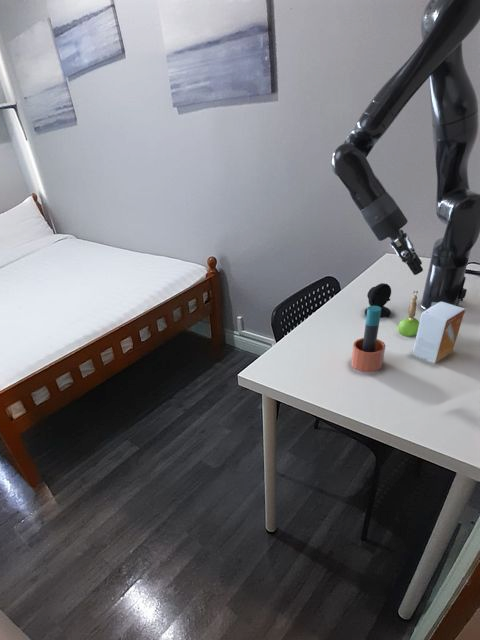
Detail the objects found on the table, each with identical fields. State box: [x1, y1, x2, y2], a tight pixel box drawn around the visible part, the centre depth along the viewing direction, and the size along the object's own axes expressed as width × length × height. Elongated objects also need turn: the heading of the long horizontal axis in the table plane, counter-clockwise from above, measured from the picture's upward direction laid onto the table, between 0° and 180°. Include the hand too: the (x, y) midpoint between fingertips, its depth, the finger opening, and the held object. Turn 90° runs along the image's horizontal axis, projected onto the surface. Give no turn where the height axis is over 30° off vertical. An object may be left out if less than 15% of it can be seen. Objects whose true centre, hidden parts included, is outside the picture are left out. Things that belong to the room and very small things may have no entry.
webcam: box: [364, 282, 392, 319], centre depth 123 cm, size 8×8×10 cm
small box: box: [412, 302, 466, 364], centre depth 102 cm, size 8×6×13 cm
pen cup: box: [350, 337, 386, 373], centre depth 104 cm, size 7×7×6 cm
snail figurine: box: [397, 290, 420, 338], centre depth 111 cm, size 5×6×12 cm
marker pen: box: [362, 305, 381, 352], centre depth 101 cm, size 3×3×16 cm
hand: (418, 269), depth 103 cm, fingers open, 8 cm apart
